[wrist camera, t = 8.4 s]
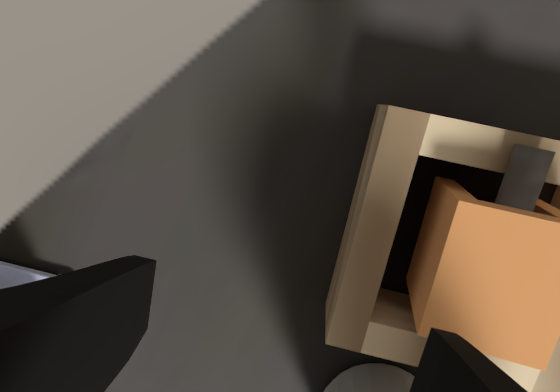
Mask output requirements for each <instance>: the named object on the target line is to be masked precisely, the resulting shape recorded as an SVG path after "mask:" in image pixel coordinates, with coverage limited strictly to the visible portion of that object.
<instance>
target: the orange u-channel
mask: <svg viewBox="0 0 560 392" xmlns="http://www.w3.org/2000/svg"><path fill="white" fill-rule="evenodd" d="M406 281H407V286H408V291H409V296H410V301H411V306H412V311H413V316H414V321H415V326H416V331H417V335H419V336H423V337H426V338H428V336H429V333H430V330H431V327H432V328H436V329H441V330H445V331H449V332H453V333H456V334H458V335H459V336H461V337H462V338H464V339H465V340H466V341H468V342H469V343H470V344H472V345H473V346H474V347H475V348H477V349H478V350H479V351H480V352H481V353H483V354H486V355H489V356H493V357H496V358H500V359H503V360H507V361H510V362H514V363H517V364H521V365H524V366H528V367H532V368H535V369H539V370H542V371H545V370H546V368H547V365H548V363H549V360H550V358H551V356H552V353H553V351H554V348H555V346H556V343H557V341H558V339H559V336H560V210H559V209H557V208H555V207H553V206H551V205H550V204H548V203H546V202H544V201H542V200H540V199H538V200H537V202H536V205H535V208H534V210H533V212H531V211H526V210H522V209H517V208H513V207H508V206H504V205H499V204H495V203H490V202H486V201H481V200H477V199H476V198H475V197H473V196H472V195H471V194H470V193H469V192H468V191H466V190H465V189H464V188H463V187H462V186H461V185H459V184H458V183H457V182H456V181H455V180H451V179H447V178H442V177H438V176H435V180H434V183H433V187H432V190H431V194H430V197H429V200H428V204H427V207H426V211H425V214H424V218H423V221H422V225H421V228H420V231H419V235H418V238H417V242H416V245H415V249H414V252H413V256H412V259H411V262H410V266H409V269H408V273H407V276H406Z"/></svg>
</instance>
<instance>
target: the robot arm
mask: <svg viewBox="0 0 560 392" xmlns="http://www.w3.org/2000/svg"><path fill="white" fill-rule="evenodd" d="M155 268H156V260H152V259H148V258H144V257H140V256H136V255H133V256H127V257H122V258H118V259H114V260H111V261H107V262H103V263H100V264H97V265H93V266H90V267H86V268H83V269H79V270H76V271H72V272H69V273H65V274H61V275H54V274H50V273H46V272H42V271H38V270H34V269H30V268H26V267H22V266H18V265H14V264H10V263H6V262H2V261H0V392H104V391H105V390H106V389H107V387H108V386H109V385H110V384H111V382H112V381H113V380H114V378H115V377H116V376H117V375H118V373H119V372H120V371H121V370H122V368H123V367H124V366H125V364H126V363H127V362H128V360H129V359H130V357H131V355H132V354H133V352H134V351H135V349H136V347H137V346H138V344H139V342H140V340H141V339H142V337H143V335H144V334H145V332H146V330H147V327H148V320H149V312H150V305H151V297H152V290H153V283H154V275H155ZM409 392H528V391H526V390H525V389H524V388H523V387H522V386H520V385H519V384H518V383H517V382H516V381H514V380H513V379H512V378H511V377H510V376H509V375H507V374H506V373H505V372H504V371H503V370H501V369H500V368H499V367H498V366H497V365H496V364H494V363H493V362H492V361H491V360H490V359H488V358H487V357H486V356H485V355H484V354H483V353H481V352H480V351H479V350H478V349H477V348H475V347H474V346H473V345H472V344H470V343H469V342H468V341H466V340H465V339H464V338H462V337H461V336H459V335H458V334H456V333H453V332H449V331H445V330H441V329H436V328H432V327H431V330H430V333H429V336H428V338H427V341H426V344H425V347H424V350H423V353H422V356H421V359H420V362H419V365H418V368H417V371H416V374H415V377H414V380H413V383H412V385H411V388H410V391H409Z"/></svg>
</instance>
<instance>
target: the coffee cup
mask: <svg viewBox="0 0 560 392" xmlns="http://www.w3.org/2000/svg"><path fill="white" fill-rule="evenodd" d="M413 380H414V376H413V375H412V374H411V373H409V372H407V371H405V370H403V369H401V368H399V367H396V366H392V365H388V364H383V363H367V364H362V365H358V366H354V367H352V368H350V369H348V370H346V371H344V372H342V373H340V374H339V375H338V376H337V377H336V378H335V379H334V380H332V381H331V383H330V384H329V385H328V386H327V387H326V389H325V390H324V392H409V391H410V388H411V385H412V383H413Z"/></svg>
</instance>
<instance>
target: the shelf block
mask: <svg viewBox="0 0 560 392" xmlns="http://www.w3.org/2000/svg"><path fill="white" fill-rule="evenodd" d="M418 155H421V156H426V157H431V158H435V159H440V160H445V161H449V162H454V163H459V164H463V165H468V166H472V167H477V168H482V169H486V170H491V171H496V172H500V173H505V174H504V177H503V180H502V183H501V186H500V188H499V191H498V194H497V197H496V200H495V204H499V205H504V206H508V207H513V208H517V209H522V210H526V211H531V212H533V210H534V208H535V205H536V202H537V200H538V197H539V195H540V192H541V189H542V187H543V184H544V182H547V183H551V184H556V185H557V187H556V190H555V192H554V195H553V198H552V200H551V203H550V205H551V206H553V207H555V208H557V209H559V210H560V141H559V140H554V139H549V138H544V137H540V136H535V135H530V134H525V133H520V132H516V131H511V130H506V129H501V128H496V127H492V126H487V125H482V124H477V123H473V122H468V121H463V120H458V119H453V118H449V117H444V116H439V115H434V114H429V113H425V112H420V111H415V110H410V109H405V108H401V107H396V106H391V105H381V104H377V106H376V110H375V114H374V118H373V122H372V126H371V130H370V134H369V137H368V141H367V145H366V149H365V153H364V157H363V161H362V164H361V168H360V172H359V176H358V180H357V184H356V188H355V192H354V195H353V199H352V203H351V207H350V211H349V215H348V219H347V222H346V226H345V230H344V234H343V238H342V242H341V246H340V249H339V253H338V257H337V261H336V265H335V269H334V273H333V277H332V280H331V284H330V288H329V292H328V296H327V300H326V316H325V344H327V345H331V346H335V347H339V348H343V349H347V350H351V351H355V352H359V353H363V354H367V355H371V356H375V357H379V358H383V359H387V360H391V361H395V362H399V363H403V364H407V365H411V366H415V367H418V365H419V362H420V359H421V356H422V353H423V350H424V347H425V344H426V341H427V338H426V337H423V336H419V335H417V331H416V326H415V321H414V316H413V311H412V306H411V301H410V296H409V295H408V294H404V293H400V292H395V291H391V290H387V289H383V288H380V285H381V281H382V278H383V274H384V271H385V268H386V264H387V261H388V257H389V254H390V251H391V247H392V244H393V240H394V237H395V234H396V230H397V227H398V223H399V220H400V217H401V213H402V210H403V206H404V203H405V200H406V196H407V193H408V189H409V186H410V183H411V179H412V176H413V172H414V169H415V166H416V162H417V159H418ZM484 355H485V356H486V357H487V358H488V359H490V360H491V361H492V362H493V363H494V364H496V365H497V366H498V367H499V368H500V369H501V370H503V371H504V372H505V373H506V374H507V375H509V376H510V377H511V378H512V379H513V380H514V381H516V382H517V383H518V384H519V385H520V386H522V387H523V388H524V389H525V390H526V391H528V392H560V336H559V339H558V341H557V343H556V346H555V348H554V351H553V353H552V356H551V358H550V360H549V363H548V365H547V368H546V370H545V371H542V370H539V369H535V368H532V367H528V366H524V365H521V364H517V363H514V362H510V361H507V360H503V359H500V358H496V357H493V356H489V355H486V354H484Z"/></svg>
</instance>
